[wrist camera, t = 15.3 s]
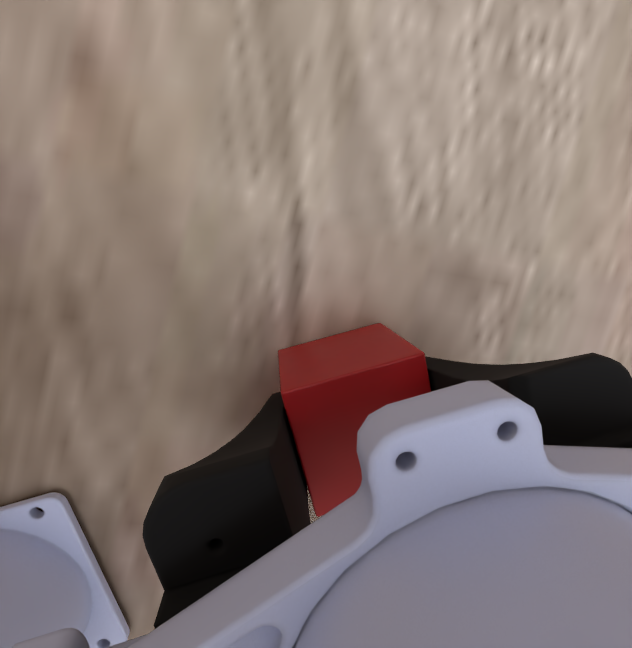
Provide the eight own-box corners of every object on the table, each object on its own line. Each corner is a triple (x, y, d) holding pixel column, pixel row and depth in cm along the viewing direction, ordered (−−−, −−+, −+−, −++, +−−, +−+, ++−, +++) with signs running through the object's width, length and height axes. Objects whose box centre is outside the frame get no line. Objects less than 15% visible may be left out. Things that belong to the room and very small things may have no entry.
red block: (303, 443, 15) (316, 518, 11) (277, 349, 14) (280, 392, 10) (399, 415, 16) (447, 478, 11) (380, 321, 15) (425, 352, 10)
